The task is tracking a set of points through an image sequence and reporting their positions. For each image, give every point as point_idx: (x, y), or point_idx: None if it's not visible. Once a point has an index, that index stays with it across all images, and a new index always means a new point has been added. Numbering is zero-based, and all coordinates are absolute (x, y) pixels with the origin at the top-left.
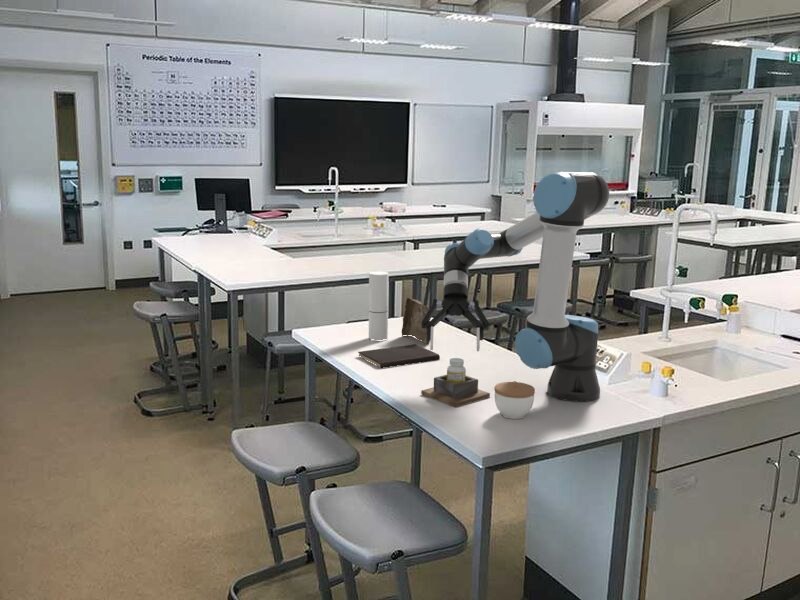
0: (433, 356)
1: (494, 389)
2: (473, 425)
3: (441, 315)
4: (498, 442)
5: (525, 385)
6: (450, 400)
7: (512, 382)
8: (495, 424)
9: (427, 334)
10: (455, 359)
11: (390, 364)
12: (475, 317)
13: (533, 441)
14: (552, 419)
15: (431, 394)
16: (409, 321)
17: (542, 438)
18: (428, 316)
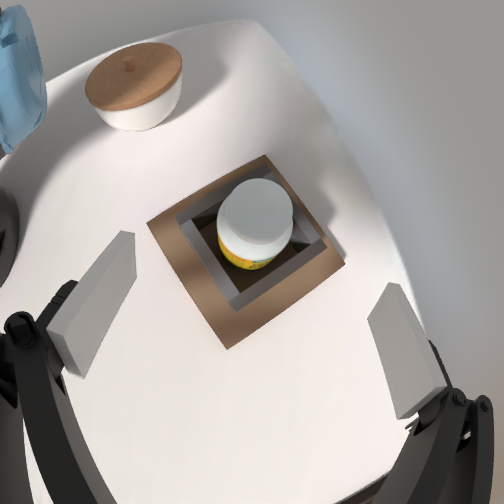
0: None
1: (179, 74)
2: (244, 77)
3: (409, 498)
4: (222, 34)
5: (99, 80)
6: (274, 174)
7: (115, 95)
8: (201, 77)
9: (433, 351)
10: (265, 214)
11: (376, 487)
12: (30, 441)
13: (169, 36)
14: (88, 100)
15: (320, 229)
16: None
17: (151, 42)
18: (481, 454)
